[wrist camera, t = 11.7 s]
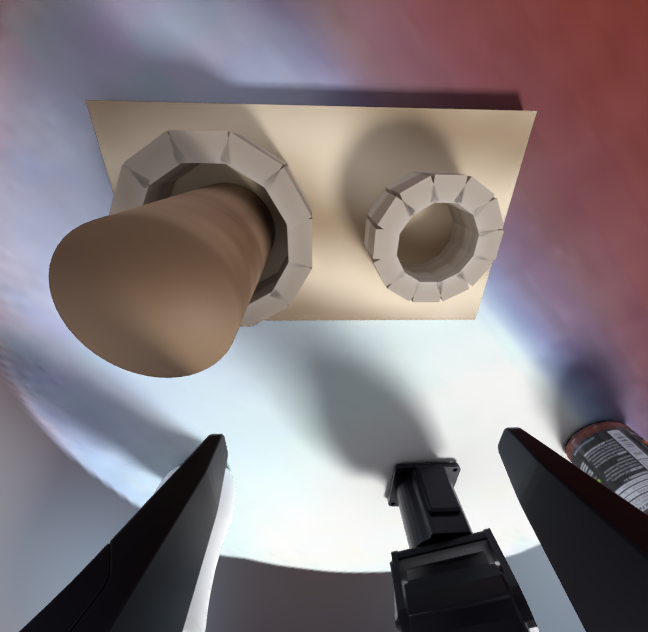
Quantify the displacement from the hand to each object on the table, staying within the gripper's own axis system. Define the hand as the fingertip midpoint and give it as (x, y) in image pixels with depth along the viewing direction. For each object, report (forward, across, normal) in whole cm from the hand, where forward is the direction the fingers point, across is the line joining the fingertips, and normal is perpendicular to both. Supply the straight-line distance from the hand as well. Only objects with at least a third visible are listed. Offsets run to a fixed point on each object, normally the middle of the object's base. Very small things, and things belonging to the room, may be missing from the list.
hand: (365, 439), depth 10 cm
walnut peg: (+11, +6, -4) cm, 14 cm away
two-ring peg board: (+12, +1, -4) cm, 13 cm away
